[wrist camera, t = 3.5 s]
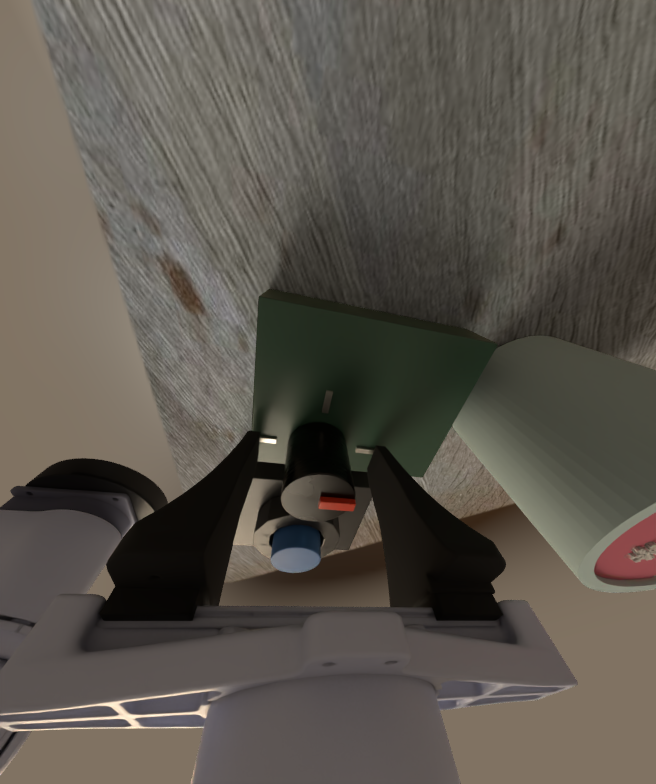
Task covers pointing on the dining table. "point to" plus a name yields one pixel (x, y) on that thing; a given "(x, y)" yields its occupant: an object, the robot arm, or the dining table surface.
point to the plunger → (296, 548)
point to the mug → (573, 453)
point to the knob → (317, 474)
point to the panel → (360, 378)
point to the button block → (269, 515)
